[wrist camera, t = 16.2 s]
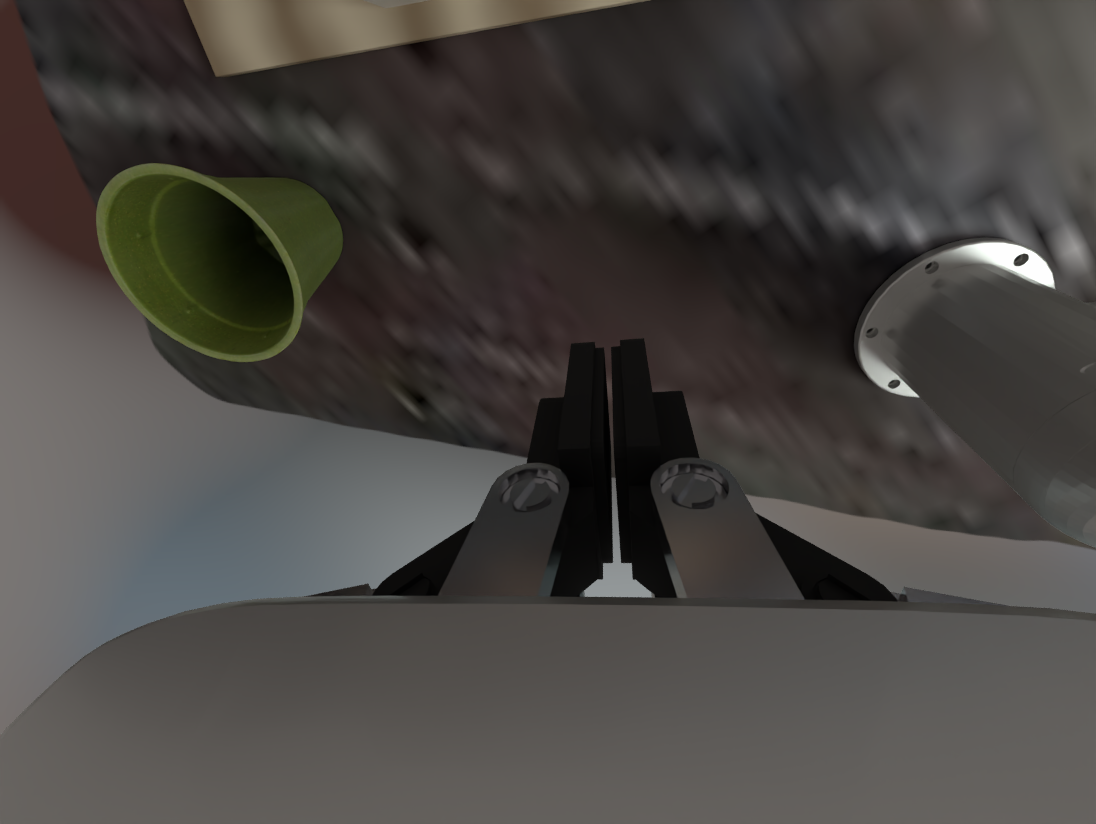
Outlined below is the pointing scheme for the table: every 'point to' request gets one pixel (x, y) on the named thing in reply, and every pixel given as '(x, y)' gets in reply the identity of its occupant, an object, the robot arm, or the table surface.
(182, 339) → the plant pot
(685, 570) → the robot arm
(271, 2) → the rail board
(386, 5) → the box
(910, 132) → the table surface
